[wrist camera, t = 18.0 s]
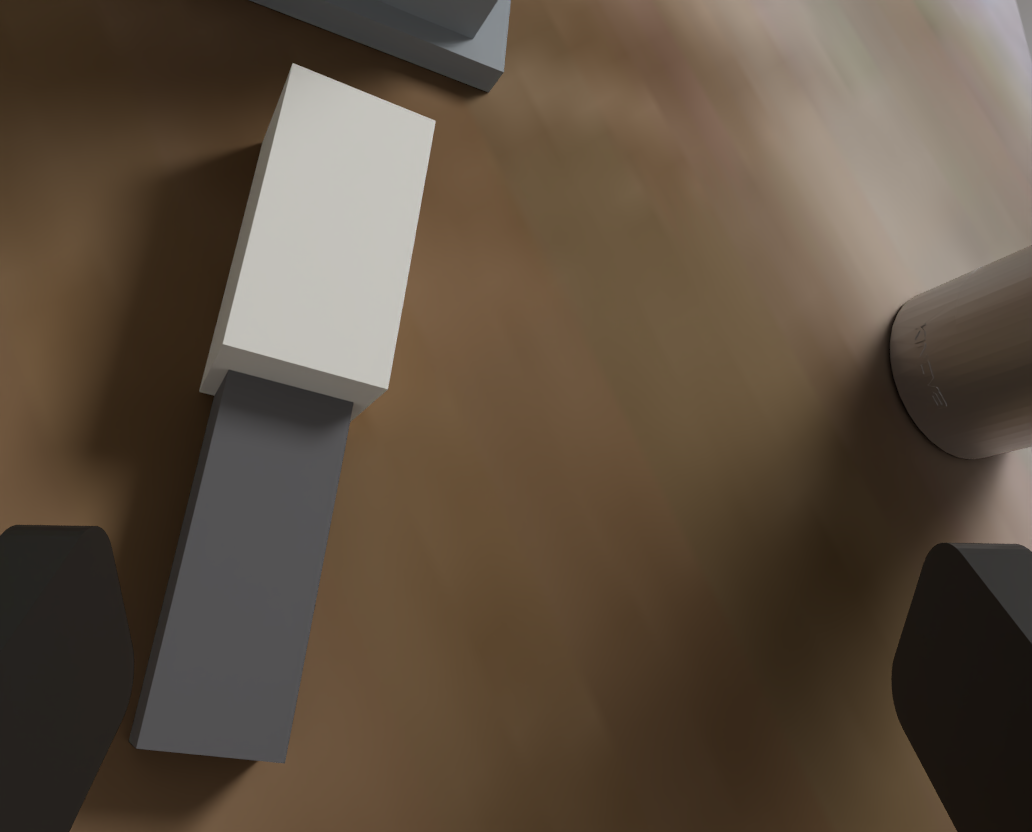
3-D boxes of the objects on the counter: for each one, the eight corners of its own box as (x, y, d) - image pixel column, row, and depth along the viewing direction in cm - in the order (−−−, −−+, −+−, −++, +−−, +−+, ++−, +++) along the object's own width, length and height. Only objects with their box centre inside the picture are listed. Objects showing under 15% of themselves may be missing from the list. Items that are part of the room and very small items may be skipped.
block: (262, 142, 33) (292, 62, 29) (389, 189, 35) (435, 120, 31) (110, 739, 26) (120, 752, 22) (279, 756, 28) (319, 771, 24)
